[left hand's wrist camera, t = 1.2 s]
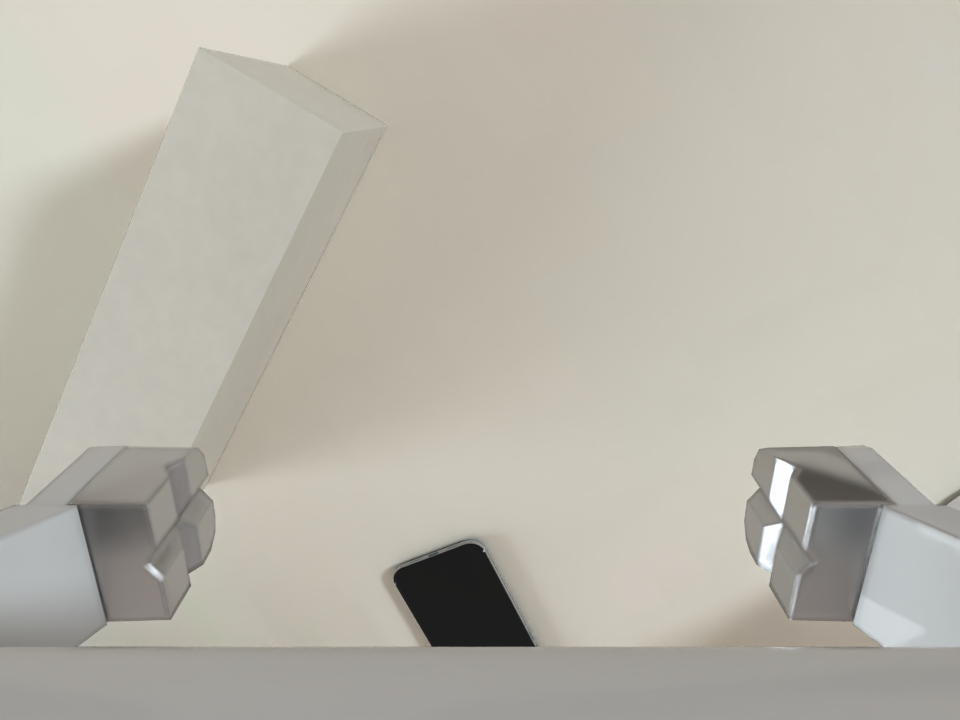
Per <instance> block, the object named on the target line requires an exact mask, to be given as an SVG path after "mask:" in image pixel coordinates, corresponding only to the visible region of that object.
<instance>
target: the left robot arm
mask: <svg viewBox="0 0 960 720" xmlns="http://www.w3.org/2000/svg"><path fill="white" fill-rule="evenodd" d="M208 475H209V474H208V470H207V465H206V460H205V455H204V454H203V453H202V452H201V450H200V449H199V448H192V447H138V446H132V447H129V446H98V447H89V448H88V449H87V450H86V451H85V452H83V453H82V454H81V455H80V456H79V457H78V458H77V459H76V460H75V461H74V462H72V463H71V464H70V465H69V466H68V467H67V468H66V469H65V470H64V471H63V472H61V473H60V474H59V475H58V476H57V477H56V478H55V479H54V480H53V481H51V482H50V483H49V484H48V485H47V486H46V487H45V488H44V489H43V490H42V491H40V492H39V493H38V494H37V495H36V496H35V497H34V498H33V499H32V500H30V501H29V502H28V503H27V504H26V505H13V506H11V507H8V508H6V509H3V510H1V511H0V720H960V495H959V496H958V497H956V498H955V499H954V500H952V501H951V502H950V503H948V504H947V505H934V504H933V503H932V502H931V501H930V500H928V499H927V498H926V497H925V496H924V495H923V494H922V493H921V492H920V491H919V490H917V489H916V488H915V487H914V486H913V485H912V484H911V483H910V482H909V481H908V480H906V479H905V478H904V477H903V476H902V475H901V474H900V473H899V472H898V471H897V470H895V469H894V468H893V467H892V466H891V465H890V464H889V463H888V462H887V461H886V460H884V459H883V458H882V457H881V456H880V455H879V454H878V453H877V452H876V451H875V450H873V449H872V448H870V447H866V446H863V445H862V446H839V447H834V446H822V447H780V448H763V449H759V450H758V452H757V455H756V457H755V459H754V463H753V469H752V474H751V475H752V476H753V478H754V480H755V481H756V483H757V484H758V486H759V487H760V488H759V489H758V490H757V491H756V492H755V493H754V494H753V495H752V496H751V497H750V498H749V499H748V500H747V504H746V512H745V519H744V523H745V534H746V541H747V544H748V547H749V550H750V553H751V555H752V557H753V559H754V560H755V562H756V564H757V565H758V566H760V567H762V568H763V569H765V570H766V571H768V572H770V573H771V579H770V584H769V586H770V588H771V590H772V592H773V593H774V595H775V597H776V598H777V600H778V602H779V603H780V605H781V607H782V608H783V610H784V612H785V613H786V615H787V617H788V619H789V620H816V621H853V625H855V626H856V627H857V628H859V629H860V630H861V631H863V632H864V633H865V634H867V635H868V636H869V637H871V638H872V639H873V640H875V641H876V642H877V643H879V644H880V645H881V646H883V647H77V646H79V645H80V644H81V643H83V642H84V641H85V640H87V639H88V638H90V637H91V636H92V635H94V634H95V633H96V632H98V631H99V630H100V629H102V628H103V627H104V626H106V625H107V621H143V620H171V619H172V617H173V615H174V614H175V612H176V610H177V608H178V607H179V605H180V603H181V602H182V600H183V598H184V597H185V595H186V593H187V591H188V590H189V588H190V586H191V584H190V579H189V573H190V572H192V571H194V570H195V569H197V568H198V567H200V566H202V565H203V564H204V562H205V560H206V558H207V557H208V555H209V553H210V551H211V547H212V543H213V539H214V535H215V510H214V504H213V500H212V499H211V498H210V497H209V496H208V495H207V494H206V493H205V492H204V491H203V490H202V489H201V488H200V487H201V486H202V484H203V483H204V481H205V480H206V478H207V476H208Z"/></svg>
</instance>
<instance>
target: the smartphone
mask: <svg viewBox="0 0 960 720" xmlns="http://www.w3.org/2000/svg"><path fill="white" fill-rule="evenodd" d="M394 583H395V585H396V587H397V588H398V590H399V592H400V593H401V595H402V597H403V598H404V600H405V602H406V603H407V605H408V607H409V608H410V610H411V612H412V614H413V615H414V617H415V619H416V620H417V622H418V624H419V625H420V627H421V629H422V630H423V632H424V634H425V635H426V637H427V639H428V641H429V642H430V644H431V646H432V647H537V645H536V643H535V641H534V639H533V637H532V635H531V634H530V632H529V630H528V628H527V626H526V624H525V622H524V620H523V618H522V617H521V615H520V613H519V611H518V609H517V607H516V605H515V603H514V601H513V600H512V598H511V596H510V594H509V592H508V590H507V588H506V586H505V584H504V583H503V581H502V579H501V577H500V575H499V573H498V571H497V569H496V567H495V566H494V564H493V562H492V560H491V558H490V556H489V554H488V552H487V550H486V549H485V547H484V545H483V544H482V543H480V542H479V541H476V540H465V541H462V542H460V543H457V544H454V545H452V546H449V547H446V548H444V549H441V550H438V551H436V552H433V553H430V554H428V555H425V556H422V557H420V558H417V559H414V560H412V561H409V562H406V563H404V564H401V565H400V566H398V567H397V569H396V570H395V574H394Z"/></svg>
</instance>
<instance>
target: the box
mask: <svg viewBox="0 0 960 720" xmlns="http://www.w3.org/2000/svg"><path fill="white" fill-rule="evenodd" d="M385 128H386V125H385V124H383V123H381V122H380V121H378V120H376V119H375V118H373V117H371V116H370V115H368V114H366V113H365V112H363V111H361V110H360V109H358V108H356V107H355V106H353V105H351V104H350V103H348V102H346V101H345V100H343V99H341V98H340V97H338V96H336V95H335V94H333V93H331V92H330V91H328V90H326V89H325V88H323V87H321V86H320V85H318V84H316V83H315V82H313V81H311V80H310V79H308V78H306V77H305V76H303V75H301V74H300V73H298V72H296V71H295V70H293V69H291V68H290V67H288V66H286V65H281V64H276V63H272V62H267V61H262V60H257V59H253V58H248V57H243V56H238V55H233V54H229V53H224V52H219V51H214V50H209V49H205V48H200V47H199V49H198V51H197V54H196V56H195V59H194V62H193V64H192V67H191V69H190V72H189V74H188V77H187V79H186V82H185V84H184V87H183V90H182V92H181V95H180V97H179V100H178V102H177V105H176V107H175V110H174V112H173V115H172V117H171V120H170V123H169V125H168V128H167V130H166V133H165V135H164V138H163V140H162V143H161V145H160V148H159V150H158V153H157V156H156V158H155V161H154V163H153V166H152V168H151V171H150V173H149V176H148V178H147V181H146V184H145V186H144V189H143V191H142V194H141V196H140V199H139V201H138V204H137V206H136V209H135V211H134V214H133V217H132V219H131V222H130V224H129V227H128V229H127V232H126V234H125V237H124V239H123V242H122V244H121V247H120V250H119V252H118V255H117V257H116V260H115V262H114V265H113V267H112V270H111V272H110V275H109V278H108V280H107V283H106V285H105V288H104V290H103V293H102V295H101V298H100V300H99V303H98V305H97V308H96V311H95V313H94V316H93V318H92V321H91V323H90V326H89V328H88V331H87V333H86V336H85V338H84V341H83V344H82V346H81V349H80V351H79V354H78V356H77V359H76V361H75V364H74V366H73V369H72V372H71V374H70V377H69V379H68V382H67V384H66V387H65V389H64V392H63V394H62V397H61V399H60V402H59V405H58V407H57V410H56V412H55V415H54V417H53V420H52V422H51V425H50V427H49V430H48V432H47V435H46V438H45V440H44V443H43V445H42V448H41V450H40V453H39V455H38V458H37V460H36V463H35V466H34V468H33V471H32V473H31V476H30V478H29V481H28V483H27V486H26V488H25V491H24V493H23V496H22V499H21V501H20V504H19V505H26V504H27V503H28V502H29V501H30V500H32V499H33V498H34V497H35V496H36V495H37V494H38V493H39V492H40V491H42V490H43V489H44V488H45V487H46V486H47V485H48V484H49V483H50V482H51V481H53V480H54V479H55V478H56V477H57V476H58V475H59V474H60V473H61V472H63V471H64V470H65V469H66V468H67V467H68V466H69V465H70V464H71V463H72V462H74V461H75V460H76V459H77V458H78V457H79V456H80V455H81V454H82V453H83V452H85V451H86V450H87V449H88V448H89V447H98V446H129V447H132V446H138V447H192V448H199V449H200V450H201V452H202V453H203V454H204V455H205V460H206V465H207V470H208V474H209V475H208V476H207V478H206V480H205V481H204V483H203V484H202V486H201V487H200V488H201V489H202V490H203V489H204V488H205V487H206V485H207V483H208V481H209V479H210V477H211V475H212V473H213V471H214V469H215V467H216V465H217V463H218V461H219V459H220V457H221V455H222V453H223V451H224V449H225V447H226V445H227V443H228V441H229V439H230V437H231V435H232V433H233V431H234V429H235V427H236V425H237V423H238V421H239V419H240V417H241V415H242V413H243V411H244V409H245V407H246V405H247V403H248V401H249V399H250V397H251V395H252V393H253V391H254V389H255V387H256V385H257V383H258V381H259V379H260V377H261V375H262V373H263V371H264V369H265V367H266V365H267V364H268V362H269V360H270V358H271V356H272V354H273V352H274V350H275V348H276V346H277V344H278V342H279V340H280V338H281V336H282V334H283V332H284V330H285V328H286V326H287V324H288V322H289V320H290V318H291V316H292V314H293V312H294V310H295V308H296V306H297V304H298V302H299V300H300V298H301V296H302V294H303V292H304V290H305V288H306V286H307V284H308V282H309V280H310V278H311V276H312V274H313V272H314V270H315V268H316V266H317V264H318V262H319V260H320V258H321V256H322V254H323V252H324V250H325V248H326V246H327V244H328V242H329V240H330V238H331V236H332V234H333V232H334V230H335V228H336V226H337V224H338V222H339V220H340V218H341V216H342V214H343V212H344V210H345V208H346V206H347V204H348V202H349V200H350V198H351V196H352V194H353V192H354V190H355V188H356V186H357V184H358V182H359V180H360V178H361V176H362V174H363V172H364V170H365V168H366V166H367V164H368V162H369V160H370V158H371V156H372V154H373V152H374V150H375V148H376V146H377V144H378V142H379V140H380V138H381V136H382V134H383V132H384V130H385Z"/></svg>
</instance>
